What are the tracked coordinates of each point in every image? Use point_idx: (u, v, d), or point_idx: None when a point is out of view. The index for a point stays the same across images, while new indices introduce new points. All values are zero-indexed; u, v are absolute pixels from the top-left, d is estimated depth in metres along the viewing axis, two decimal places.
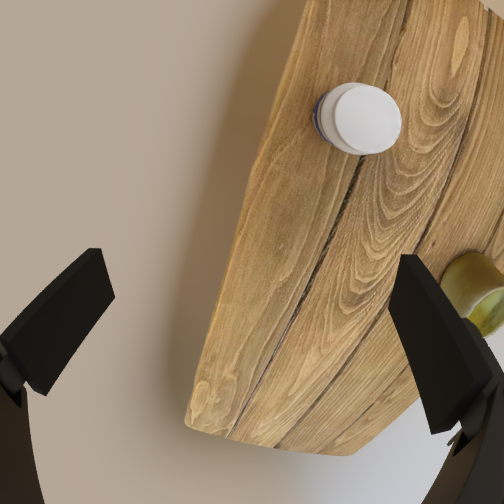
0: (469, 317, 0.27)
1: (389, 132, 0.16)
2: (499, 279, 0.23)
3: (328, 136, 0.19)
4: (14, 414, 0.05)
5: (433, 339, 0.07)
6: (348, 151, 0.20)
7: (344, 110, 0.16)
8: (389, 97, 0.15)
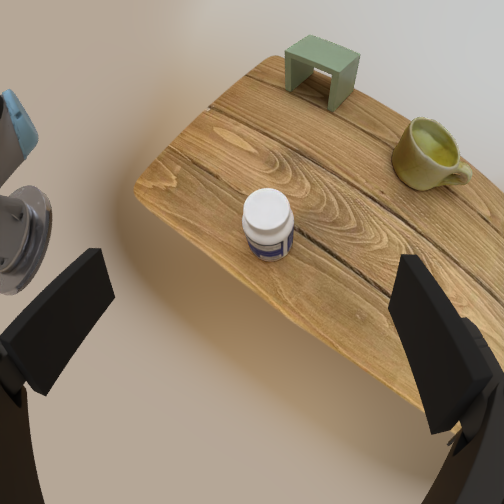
0: (440, 161, 0.34)
1: (278, 197, 0.29)
2: (405, 133, 0.34)
3: (274, 242, 0.31)
4: (14, 414, 0.05)
5: (433, 339, 0.07)
6: (288, 232, 0.31)
7: (256, 221, 0.29)
8: (255, 192, 0.30)
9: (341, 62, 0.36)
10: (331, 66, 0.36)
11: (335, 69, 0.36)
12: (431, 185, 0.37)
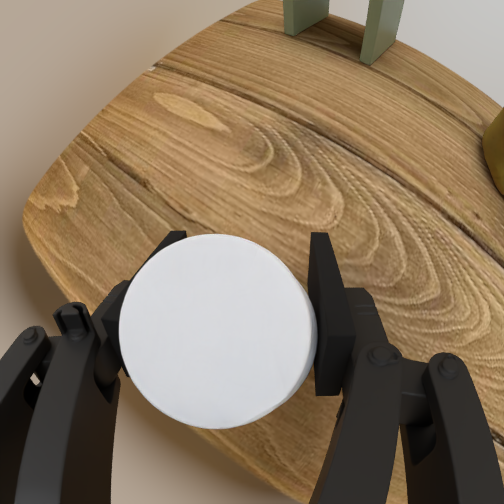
0: None
1: (259, 282, 0.06)
2: None
3: None
4: (102, 413, 0.06)
5: (317, 303, 0.09)
6: (296, 387, 0.08)
7: (164, 389, 0.06)
8: (166, 251, 0.07)
9: None
10: None
11: None
12: None
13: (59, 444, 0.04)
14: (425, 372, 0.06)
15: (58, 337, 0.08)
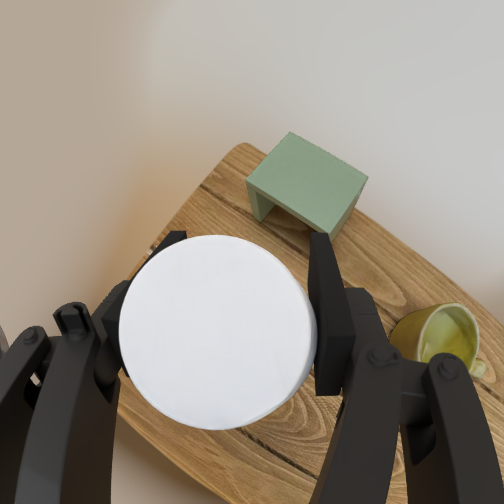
0: None
1: (258, 283, 0.06)
2: (412, 338, 0.24)
3: None
4: (102, 413, 0.06)
5: (317, 303, 0.09)
6: (296, 388, 0.08)
7: (164, 390, 0.06)
8: (166, 252, 0.07)
9: (335, 205, 0.27)
10: (318, 220, 0.27)
11: (323, 226, 0.26)
12: None
13: (59, 443, 0.04)
14: (425, 372, 0.06)
15: (58, 337, 0.08)
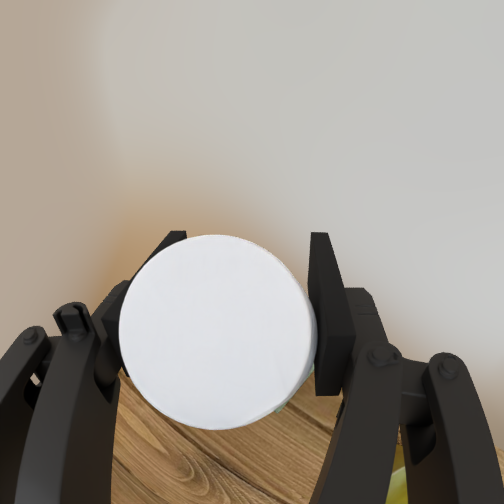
0: (405, 497, 0.19)
1: (259, 282, 0.06)
2: None
3: None
4: (102, 413, 0.06)
5: (317, 303, 0.09)
6: (296, 388, 0.08)
7: (164, 390, 0.06)
8: (166, 252, 0.07)
9: None
10: None
11: None
12: None
13: (60, 443, 0.04)
14: (425, 372, 0.06)
15: (58, 337, 0.08)
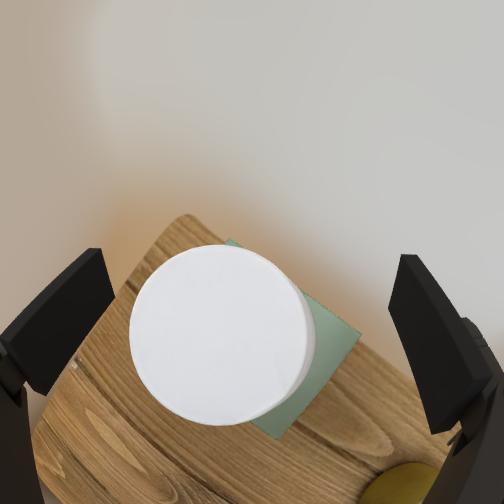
0: None
1: (260, 290, 0.07)
2: None
3: None
4: (14, 414, 0.05)
5: (433, 339, 0.07)
6: (295, 387, 0.08)
7: (172, 389, 0.06)
8: (173, 260, 0.07)
9: (293, 394, 0.15)
10: (260, 418, 0.15)
11: (268, 429, 0.14)
12: None
13: None
14: None
15: None
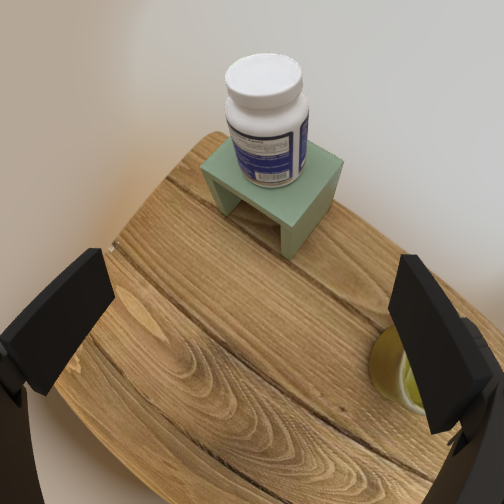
0: None
1: (281, 61, 0.15)
2: (395, 355, 0.20)
3: (277, 130, 0.17)
4: (14, 414, 0.05)
5: (433, 339, 0.07)
6: (300, 116, 0.17)
7: (246, 87, 0.15)
8: (245, 57, 0.16)
9: (301, 194, 0.23)
10: (279, 211, 0.23)
11: (285, 218, 0.23)
12: None
13: None
14: None
15: None
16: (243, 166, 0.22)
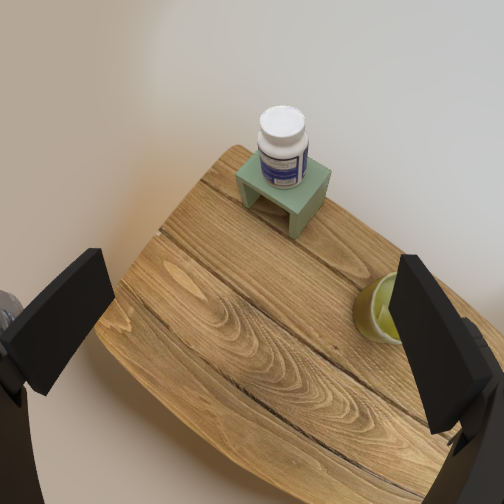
0: None
1: (293, 112, 0.28)
2: (368, 298, 0.33)
3: (290, 155, 0.29)
4: (14, 414, 0.05)
5: (433, 339, 0.07)
6: (303, 146, 0.29)
7: (273, 130, 0.27)
8: (271, 108, 0.28)
9: (303, 192, 0.36)
10: (289, 203, 0.35)
11: (293, 208, 0.35)
12: None
13: None
14: None
15: None
16: (266, 175, 0.34)
